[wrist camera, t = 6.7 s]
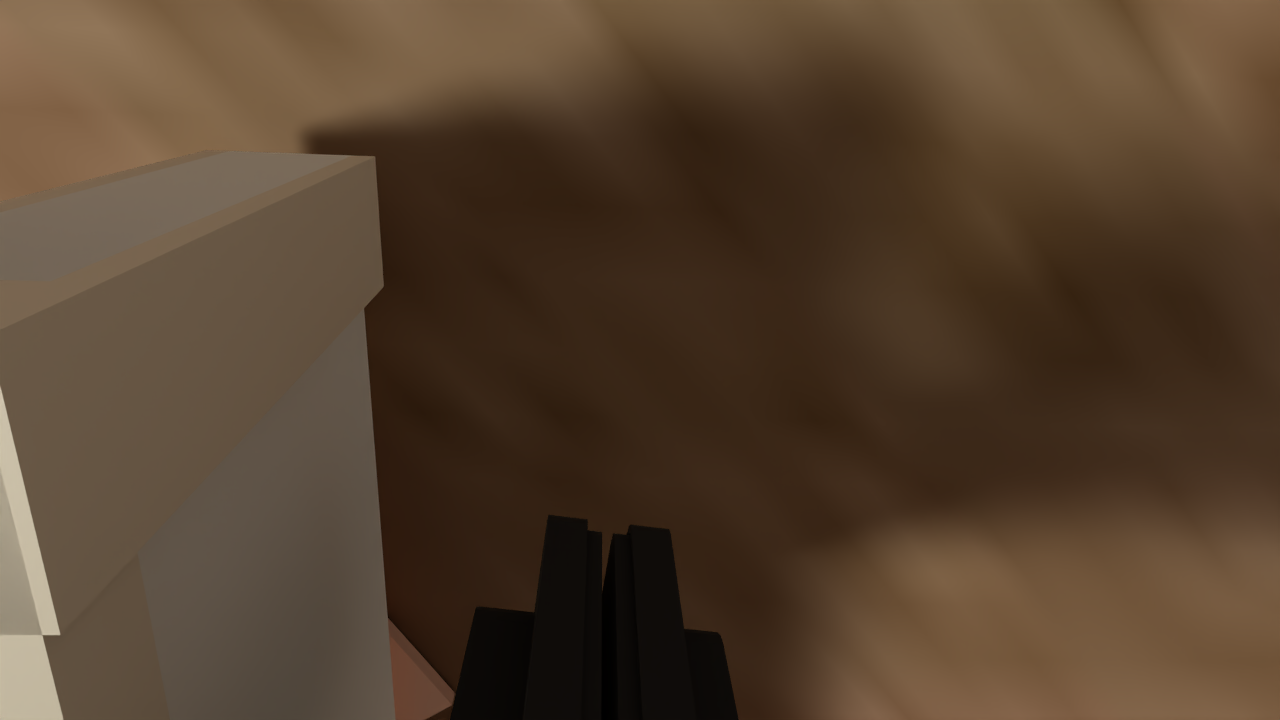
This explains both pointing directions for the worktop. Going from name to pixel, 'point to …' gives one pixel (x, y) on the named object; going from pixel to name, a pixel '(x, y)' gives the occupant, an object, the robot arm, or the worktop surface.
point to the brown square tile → (415, 681)
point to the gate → (192, 444)
